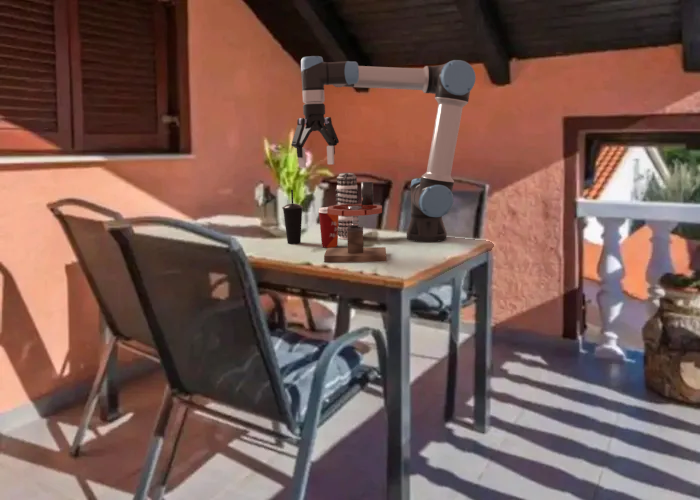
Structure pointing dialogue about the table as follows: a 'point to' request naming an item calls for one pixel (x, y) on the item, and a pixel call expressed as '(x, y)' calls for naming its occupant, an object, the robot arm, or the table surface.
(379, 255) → the brown block
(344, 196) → the decorative candle
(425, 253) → the table surface
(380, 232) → the table surface
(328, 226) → the paper cup
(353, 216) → the handwheel
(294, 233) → the drinking cup
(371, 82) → the robot arm
